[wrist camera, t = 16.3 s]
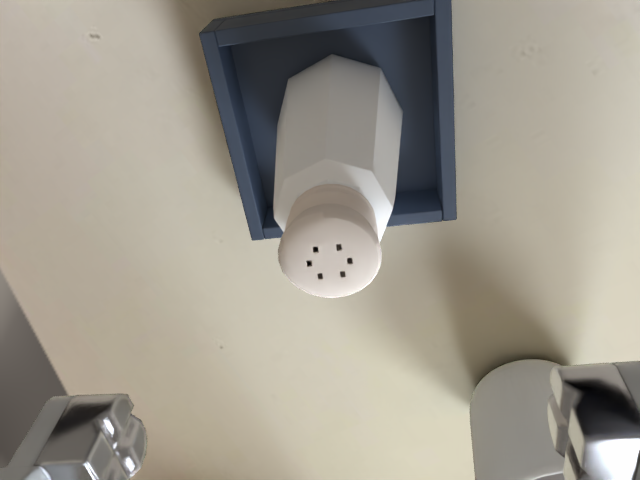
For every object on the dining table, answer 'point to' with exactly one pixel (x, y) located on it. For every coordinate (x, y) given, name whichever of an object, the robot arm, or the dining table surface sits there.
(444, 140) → the tray
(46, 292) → the dining table surface
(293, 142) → the pepper shaker
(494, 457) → the cup
